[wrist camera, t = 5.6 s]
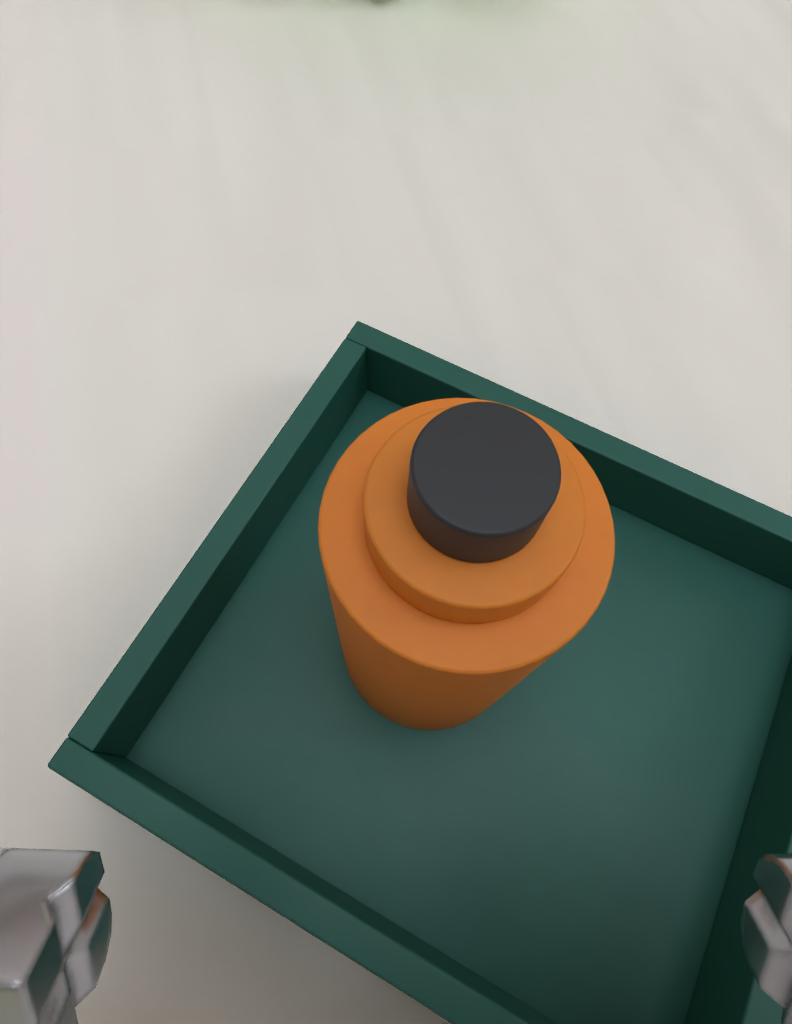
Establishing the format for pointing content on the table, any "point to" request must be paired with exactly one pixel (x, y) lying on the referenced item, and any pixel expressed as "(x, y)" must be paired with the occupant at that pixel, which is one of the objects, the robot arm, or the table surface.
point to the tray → (476, 741)
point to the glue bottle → (459, 555)
